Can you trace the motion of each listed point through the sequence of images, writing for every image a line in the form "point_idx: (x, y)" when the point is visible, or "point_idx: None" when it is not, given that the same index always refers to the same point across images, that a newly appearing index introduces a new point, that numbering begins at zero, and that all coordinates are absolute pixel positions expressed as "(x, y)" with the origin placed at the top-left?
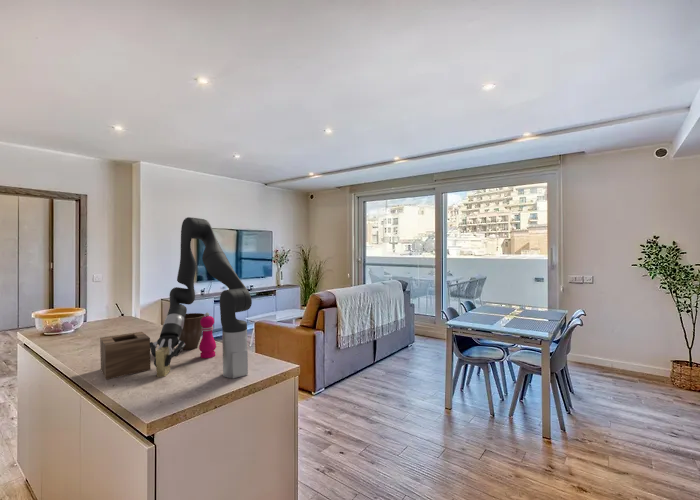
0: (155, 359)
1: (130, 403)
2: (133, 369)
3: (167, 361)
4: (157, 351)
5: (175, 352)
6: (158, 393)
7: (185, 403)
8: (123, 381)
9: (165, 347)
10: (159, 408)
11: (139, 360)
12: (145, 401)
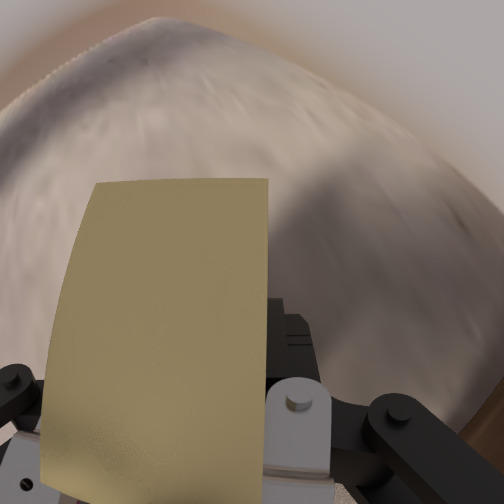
0: (305, 356)
1: (246, 53)
2: (487, 422)
3: None
4: (225, 185)
5: (4, 372)
6: (165, 101)
7: (81, 65)
8: (453, 274)
9: (102, 459)
10: (144, 41)
11: (501, 461)
12: (198, 60)
